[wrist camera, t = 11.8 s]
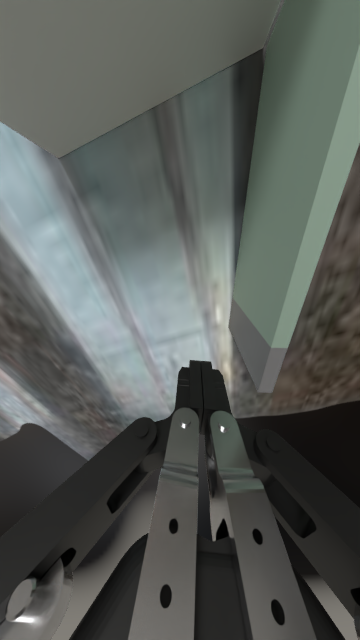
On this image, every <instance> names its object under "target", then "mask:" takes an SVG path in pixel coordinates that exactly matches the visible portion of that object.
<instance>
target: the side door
mask: <svg viewBox="0 0 360 640" xmlns="http://www.w3.org/2000/svg"><path fill="white" fill-rule="evenodd" d="M359 143H360V0H285V1H284V4H283V6H282V9H281V11H280V14H279V16H278V19H277V22H276V24H275V27H274V29H273V32H272V34H271V37H270V40H269V42H268V45H267V49H266V56H265V63H264V71H263V78H262V85H261V93H260V100H259V107H258V115H257V122H256V129H255V137H254V144H253V151H252V159H251V166H250V173H249V181H248V188H247V195H246V203H245V210H244V217H243V225H242V232H241V240H240V247H239V254H238V262H237V269H236V276H235V284H234V291H233V298H232V306H231V313H230V320H229V329H230V331H231V333H232V335H233V338H234V340H235V342H236V344H237V347H238V349H239V351H240V353H241V355H242V358H243V360H244V362H245V364H246V366H247V369H248V371H249V373H250V375H251V378H252V380H253V382H254V384H255V386H256V389H257V391H258V392H270V393H272V391H273V388H274V386H275V383H276V380H277V377H278V374H279V371H280V368H281V366H282V363H283V360H284V357H285V354H286V351H287V349H288V346H289V343H290V340H291V337H292V334H293V331H294V329H295V326H296V323H297V320H298V317H299V314H300V311H301V309H302V306H303V303H304V300H305V297H306V294H307V291H308V289H309V286H310V283H311V280H312V277H313V274H314V271H315V269H316V266H317V263H318V260H319V257H320V254H321V251H322V249H323V246H324V243H325V240H326V237H327V234H328V231H329V229H330V226H331V223H332V220H333V217H334V214H335V212H336V209H337V206H338V203H339V200H340V197H341V194H342V192H343V189H344V186H345V183H346V180H347V177H348V174H349V172H350V169H351V166H352V163H353V160H354V157H355V154H356V152H357V149H358V146H359Z"/></svg>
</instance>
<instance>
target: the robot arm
mask: <svg viewBox="0 0 360 640" xmlns="http://www.w3.org/2000/svg"><path fill="white" fill-rule="evenodd" d="M199 432H200V434H203V435H205V447H204V452H205V461H206V469H207V477H208V485H209V494H210V518H211V528H212V537H213V541H209V540H207V539H205V538H204V537H202V536H200V535H198V534H197V508H198V440H199ZM161 467H162V469H161V473H160V478H159V483H158V488H157V493H156V498H155V504H154V508H153V513H152V519H151V524H150V529H149V533H147V534H146V535H144V536H142V537H141V538H140V539H139V540H137V541H136V542H135V543H134V544H133V545H132V546H131V547H130V548H129V550H128V551H127V552H126V553H125V555H124V556H123V557H122V559H121V560H120V562H119V563H118V565H117V567H116V568H115V570H114V571H113V573H112V574H111V576H110V577H109V579H108V580H107V582H106V583H105V585H104V586H103V588H102V589H101V591H100V593H99V594H98V596H97V597H96V599H95V601H94V602H93V604H92V605H91V606H90V608H89V610H88V611H87V613H86V614H85V616H84V617H83V619H82V620H81V622H80V623H79V625H78V626H77V628H76V630H75V631H74V633H73V634H72V636H71V637H70V639H69V640H345V638H344V637H343V635H342V634H341V632H340V631H339V630H338V628H337V627H336V625H335V624H334V622H333V621H332V619H331V618H330V616H329V615H328V614H327V612H326V611H325V609H324V608H323V606H322V605H321V603H320V602H319V600H318V599H317V597H316V596H315V595H314V593H313V592H312V590H311V589H310V587H309V586H308V584H307V583H306V582H305V580H304V579H303V578H302V576H301V575H300V574H299V573H298V572H297V570H296V569H295V568H294V567H293V566H292V565H291V564H290V561H289V558H288V555H287V552H286V549H285V546H284V543H283V540H282V538H281V535H280V532H279V529H278V526H277V523H276V521H275V517H276V518H277V519H278V521H279V522H280V523H281V525H282V526H283V527H284V529H285V530H286V531H287V533H288V534H289V535H290V536H291V538H292V539H293V540H294V542H295V543H296V544H297V546H298V547H299V548H300V549H301V551H302V552H303V553H304V555H305V556H306V557H307V559H308V560H309V561H310V562H311V564H312V565H313V566H314V568H315V569H316V570H317V572H318V573H319V574H320V575H321V577H322V578H323V579H324V581H325V582H326V583H327V585H328V586H329V587H330V588H331V590H332V591H333V592H334V594H335V595H336V596H337V598H338V599H339V600H340V602H341V603H342V604H343V605H344V607H345V608H346V609H347V610H348V612H349V613H350V614H351V616H352V617H353V618H354V623H355V629H356V632H357V637H358V640H360V508H359V507H357V506H356V505H355V504H354V503H353V502H352V501H351V500H350V499H349V498H348V497H347V496H345V495H344V494H343V493H342V492H341V491H340V490H339V489H338V488H337V487H336V486H334V485H333V484H332V483H331V482H330V481H329V480H328V479H327V478H326V477H324V476H323V475H322V474H321V473H320V472H319V471H318V470H317V469H316V468H314V467H313V466H312V465H311V464H310V463H309V462H308V461H307V460H306V459H305V458H304V457H303V456H301V455H300V454H299V453H298V452H297V451H296V450H295V449H294V448H293V447H292V446H290V445H289V444H288V443H287V442H286V441H285V440H284V439H283V438H282V437H281V436H279V435H278V434H277V433H275V432H273V431H271V430H268V429H262V430H260V431H259V432H258V433H257V432H255V431H253V430H250V429H248V428H246V427H244V426H242V425H240V424H239V423H238V422H237V421H236V420H235V419H234V417H233V415H232V413H231V410H230V405H229V401H228V397H227V392H226V389H225V384H224V379H223V375H222V374H221V373H220V371H219V370H215V369H212V364H211V362H209V361H195V360H190V364H189V368H188V367H182V368H181V370H180V371H179V374H178V384H177V394H176V403H175V409H174V411H173V413H172V414H171V415H170V416H169V417H168V418H166V419H164V420H160V421H157V422H154V421H153V420H152V419H150V418H147V417H143V418H139V419H137V420H135V421H134V422H133V423H132V424H131V425H129V426H128V427H127V428H126V429H125V430H124V431H123V432H121V433H120V434H119V435H118V436H117V437H116V438H114V439H113V440H112V441H111V442H110V443H109V444H108V445H106V446H105V447H104V448H103V449H102V450H101V451H99V452H98V453H97V454H96V455H95V456H94V457H93V458H91V459H90V460H89V461H88V462H87V463H86V464H84V465H83V466H82V467H81V468H80V469H79V470H78V471H76V472H75V473H74V474H73V475H72V476H71V477H69V478H68V479H67V480H66V481H65V482H64V483H63V484H61V485H60V486H59V487H58V488H57V489H56V490H54V491H53V492H52V493H51V494H50V495H49V496H48V497H46V498H45V499H44V500H43V501H42V502H41V503H39V504H38V505H37V506H36V507H35V508H34V509H33V510H31V511H30V512H29V513H28V514H27V515H26V516H25V517H23V518H22V519H21V520H20V521H19V522H18V523H16V525H14V526H13V527H12V528H11V529H9V530H8V531H7V532H6V533H5V534H4V535H3V536H1V537H0V640H51V639H52V637H53V635H54V634H55V632H56V631H57V629H58V627H59V626H60V624H61V622H62V619H63V617H64V615H65V613H66V611H67V608H68V605H69V602H70V598H71V594H72V588H73V574H72V572H73V571H74V569H75V568H76V567H77V566H78V564H79V563H80V562H81V561H82V559H83V558H84V557H85V556H86V555H87V553H88V552H89V551H90V550H91V548H92V547H93V546H94V544H96V542H97V541H98V540H99V539H100V537H101V536H102V535H103V534H104V532H105V531H106V530H107V529H108V527H109V526H110V525H111V524H112V523H113V521H114V520H115V519H116V518H117V516H118V515H119V514H120V513H121V511H122V510H123V509H124V508H125V506H126V505H127V504H128V503H129V501H130V500H131V499H132V498H133V497H134V495H135V494H136V493H137V492H138V490H139V489H140V488H141V487H142V485H143V484H144V483H145V482H146V480H147V479H148V478H149V477H150V475H151V474H152V473H153V472H154V470H156V469H158V468H161ZM274 516H275V517H274ZM252 534H253V535H252Z"/></svg>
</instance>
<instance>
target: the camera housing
mask: <svg viewBox="0 0 360 640" xmlns="http://www.w3.org/2000/svg"><path fill="white" fill-rule="evenodd" d="M280 2H281V0H0V122H2V123H3V124H5V125H6V126H8V127H10V128H11V129H13V130H14V131H16V132H17V133H19V134H21V135H22V136H24V137H25V138H27V139H28V140H30V141H32V142H33V143H35V144H36V145H38V146H39V147H41V148H43V149H44V150H46V151H47V152H49V153H50V154H52V155H54V156H55V157H57V158H58V159H59V158H61V157H63V156H64V155H66V154H68V153H70V152H72V151H74V150H76V149H77V148H79V147H81V146H83V145H85V144H87V143H88V142H90V141H92V140H94V139H96V138H98V137H100V136H101V135H103V134H105V133H107V132H109V131H111V130H113V129H114V128H116V127H118V126H120V125H122V124H124V123H125V122H127V121H129V120H131V119H133V118H135V117H137V116H138V115H140V114H142V113H144V112H146V111H148V110H149V109H151V108H153V107H155V106H157V105H159V104H161V103H162V102H164V101H166V100H168V99H170V98H172V97H174V96H175V95H177V94H179V93H181V92H183V91H185V90H186V89H188V88H190V87H192V86H194V85H196V84H198V83H199V82H201V81H203V80H205V79H207V78H209V77H211V76H212V75H214V74H216V73H218V72H220V71H222V70H223V69H225V68H227V67H229V66H231V65H233V64H235V63H236V62H238V61H240V60H242V59H244V58H246V57H247V56H249V55H251V54H253V53H255V52H257V51H259V50H260V49H262V48H264V45H265V42H266V40H267V37H268V34H269V31H270V29H271V26H272V23H273V21H274V18H275V15H276V13H277V10H278V7H279V5H280Z"/></svg>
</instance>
